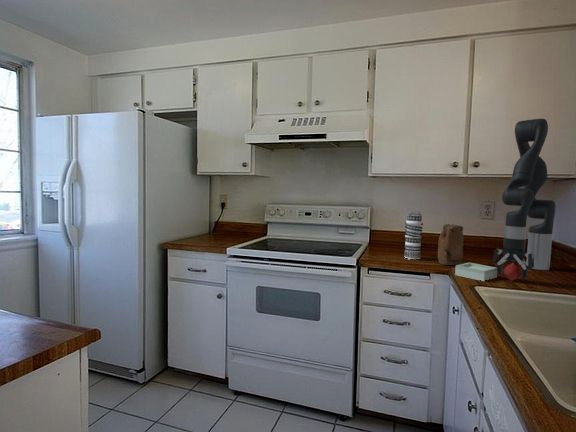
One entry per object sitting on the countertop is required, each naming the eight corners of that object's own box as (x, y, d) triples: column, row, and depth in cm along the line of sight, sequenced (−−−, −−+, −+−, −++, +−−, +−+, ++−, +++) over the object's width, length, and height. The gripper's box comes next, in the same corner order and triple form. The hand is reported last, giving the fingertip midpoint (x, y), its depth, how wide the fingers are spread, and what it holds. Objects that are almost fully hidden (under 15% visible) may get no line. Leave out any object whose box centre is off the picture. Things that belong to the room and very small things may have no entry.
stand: (468, 271, 156) (469, 262, 156) (496, 277, 147) (497, 267, 146) (455, 274, 149) (455, 265, 149) (483, 281, 140) (484, 271, 139)
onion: (500, 280, 142) (502, 261, 141) (506, 278, 145) (508, 259, 145) (516, 283, 137) (517, 263, 136) (522, 281, 140) (523, 262, 140)
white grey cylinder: (409, 255, 191) (412, 211, 189) (424, 258, 183) (427, 212, 181) (399, 257, 185) (401, 211, 183) (414, 260, 178) (417, 213, 176)
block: (452, 262, 176) (454, 223, 174) (463, 265, 169) (466, 225, 167) (434, 263, 173) (437, 224, 171) (445, 266, 166) (448, 225, 164)
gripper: (538, 238, 136) (535, 278, 137) (499, 234, 148) (497, 271, 149) (531, 240, 132) (528, 281, 133) (491, 235, 143) (489, 273, 144)
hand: (511, 276), depth 141 cm, fingers open, 8 cm apart
